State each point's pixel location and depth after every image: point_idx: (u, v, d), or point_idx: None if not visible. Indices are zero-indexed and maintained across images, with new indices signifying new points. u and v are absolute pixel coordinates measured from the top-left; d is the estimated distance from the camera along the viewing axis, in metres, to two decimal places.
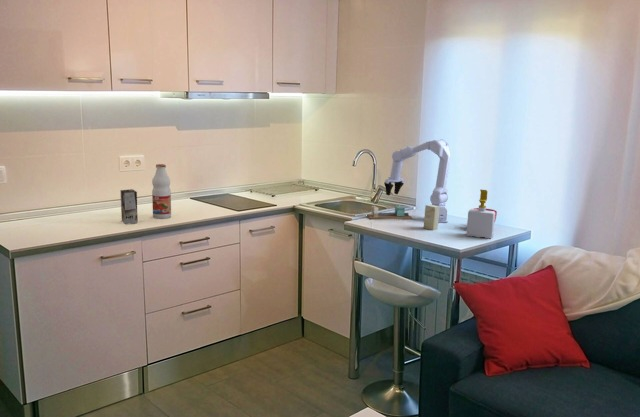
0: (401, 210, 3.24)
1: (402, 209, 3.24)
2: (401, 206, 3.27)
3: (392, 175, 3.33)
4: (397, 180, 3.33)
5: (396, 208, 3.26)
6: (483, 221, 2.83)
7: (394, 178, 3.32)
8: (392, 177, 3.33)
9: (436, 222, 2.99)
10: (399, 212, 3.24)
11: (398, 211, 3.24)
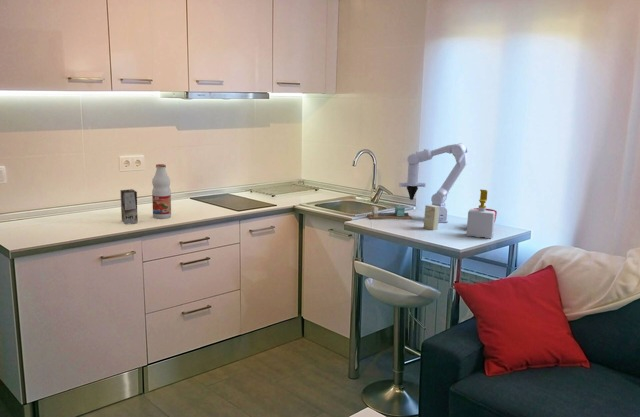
0: (401, 210, 3.24)
1: (402, 209, 3.24)
2: (401, 206, 3.27)
3: None
4: (412, 184, 3.22)
5: (396, 208, 3.26)
6: (483, 221, 2.83)
7: (409, 182, 3.22)
8: (407, 181, 3.23)
9: (436, 222, 2.99)
10: (399, 212, 3.24)
11: (398, 211, 3.24)
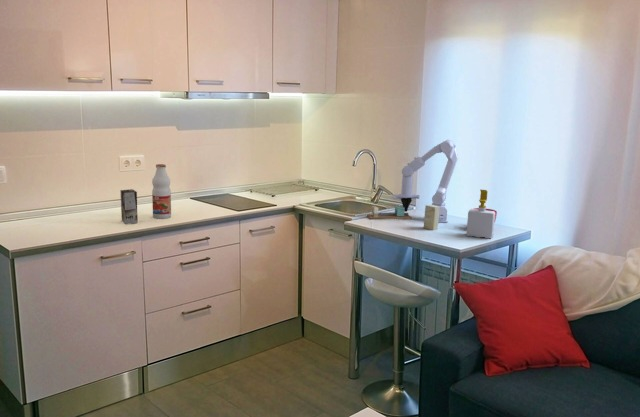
0: (401, 210, 3.24)
1: (402, 209, 3.24)
2: (401, 206, 3.27)
3: (401, 190, 3.24)
4: (406, 195, 3.22)
5: (396, 208, 3.26)
6: (483, 221, 2.83)
7: (403, 193, 3.23)
8: (401, 193, 3.24)
9: (436, 222, 2.99)
10: (399, 212, 3.24)
11: (398, 211, 3.24)
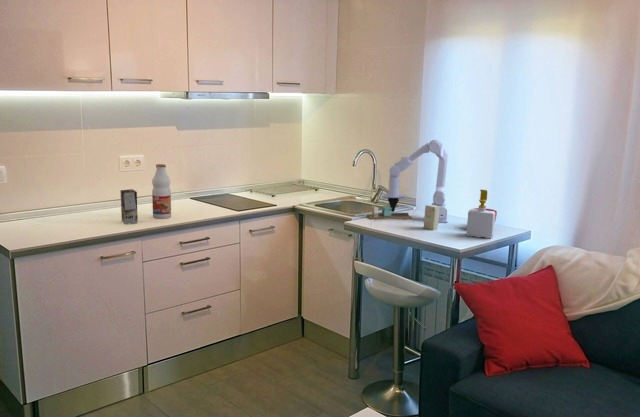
0: (388, 210, 3.22)
1: (389, 209, 3.22)
2: (388, 206, 3.26)
3: None
4: (393, 196, 3.21)
5: (383, 208, 3.24)
6: (483, 221, 2.83)
7: (390, 193, 3.22)
8: (388, 193, 3.23)
9: (436, 222, 2.99)
10: (386, 212, 3.22)
11: (385, 211, 3.22)
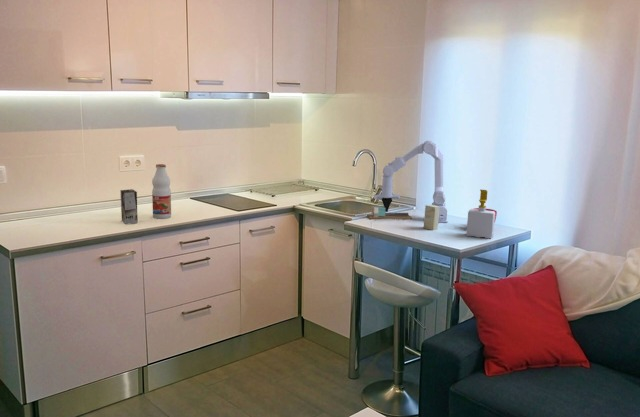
0: (382, 210, 3.22)
1: (383, 209, 3.22)
2: (382, 206, 3.25)
3: (382, 190, 3.23)
4: (386, 196, 3.20)
5: None
6: (483, 221, 2.83)
7: (383, 194, 3.21)
8: (382, 193, 3.22)
9: (436, 222, 2.99)
10: (379, 212, 3.22)
11: (379, 211, 3.22)
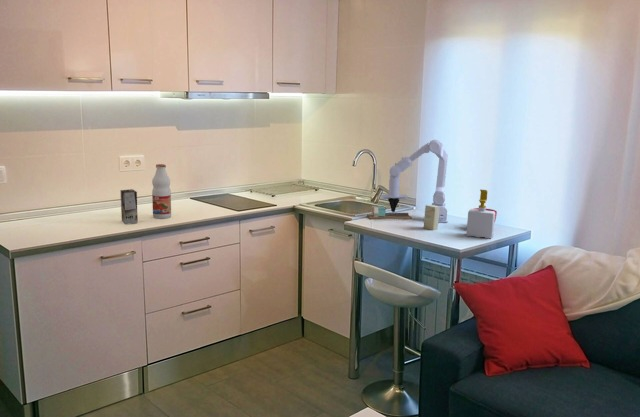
0: (382, 210, 3.22)
1: (383, 209, 3.22)
2: (382, 206, 3.25)
3: None
4: (393, 196, 3.21)
5: None
6: (483, 221, 2.83)
7: (390, 194, 3.22)
8: (389, 193, 3.23)
9: (436, 222, 2.99)
10: (379, 212, 3.22)
11: (379, 211, 3.22)
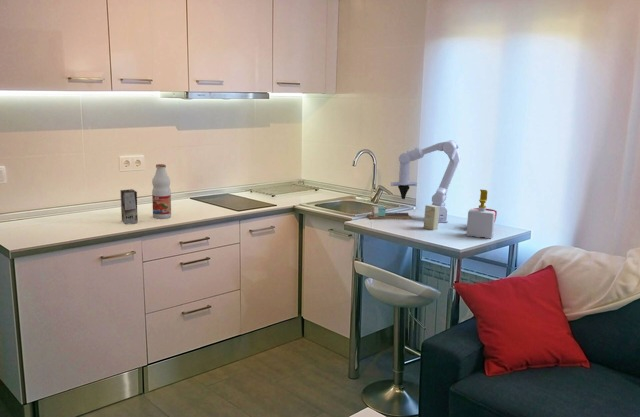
0: (382, 210, 3.22)
1: (383, 209, 3.22)
2: (382, 206, 3.25)
3: (399, 178, 3.25)
4: (403, 183, 3.23)
5: None
6: (483, 221, 2.83)
7: (400, 181, 3.23)
8: (399, 180, 3.24)
9: (436, 222, 2.99)
10: (379, 212, 3.22)
11: (379, 211, 3.22)
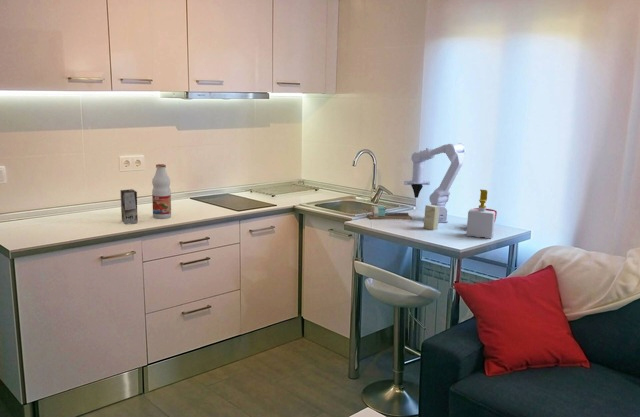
0: (382, 210, 3.22)
1: (383, 209, 3.22)
2: (382, 206, 3.25)
3: (412, 177, 3.29)
4: (417, 182, 3.27)
5: None
6: (483, 221, 2.83)
7: (414, 180, 3.28)
8: (412, 179, 3.29)
9: (436, 222, 2.99)
10: (379, 212, 3.22)
11: (379, 211, 3.22)
